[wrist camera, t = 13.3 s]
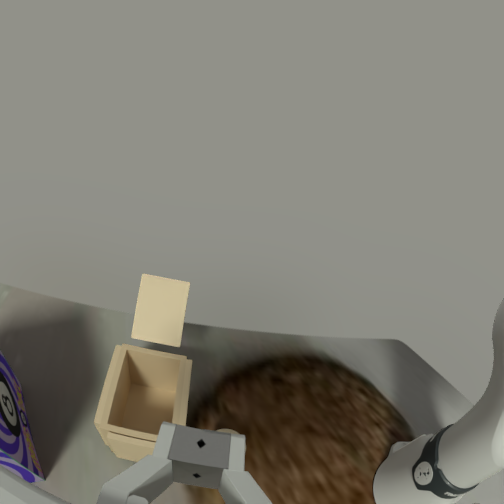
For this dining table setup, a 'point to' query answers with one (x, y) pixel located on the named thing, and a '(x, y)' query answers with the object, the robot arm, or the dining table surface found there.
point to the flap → (160, 310)
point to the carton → (141, 399)
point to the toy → (16, 429)
